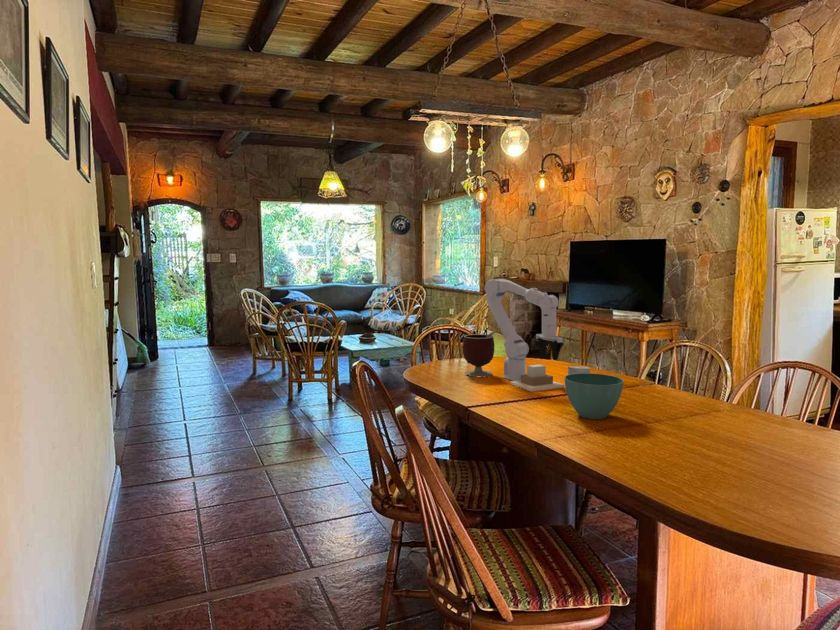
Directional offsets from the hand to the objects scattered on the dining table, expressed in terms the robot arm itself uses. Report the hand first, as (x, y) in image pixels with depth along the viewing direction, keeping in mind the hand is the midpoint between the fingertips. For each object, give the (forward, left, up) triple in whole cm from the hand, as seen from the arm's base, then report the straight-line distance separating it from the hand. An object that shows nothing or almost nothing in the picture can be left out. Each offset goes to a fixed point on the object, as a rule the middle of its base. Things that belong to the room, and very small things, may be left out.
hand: (549, 358), depth 233 cm
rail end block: (+2, -8, -9) cm, 12 cm away
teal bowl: (+46, -18, -11) cm, 50 cm away
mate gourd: (-28, -15, -11) cm, 34 cm away
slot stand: (+2, -7, -10) cm, 13 cm away
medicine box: (+14, +4, -11) cm, 18 cm away
